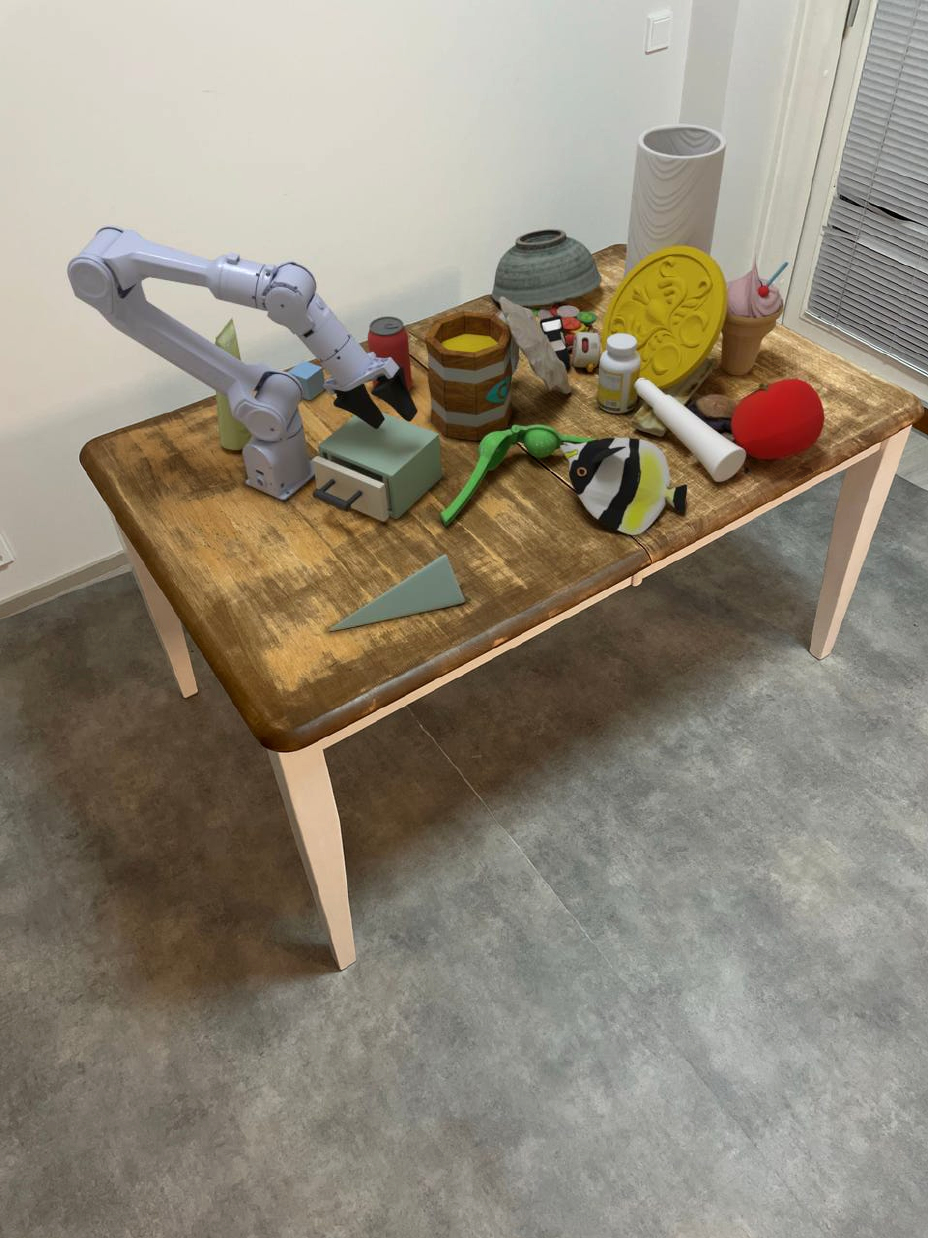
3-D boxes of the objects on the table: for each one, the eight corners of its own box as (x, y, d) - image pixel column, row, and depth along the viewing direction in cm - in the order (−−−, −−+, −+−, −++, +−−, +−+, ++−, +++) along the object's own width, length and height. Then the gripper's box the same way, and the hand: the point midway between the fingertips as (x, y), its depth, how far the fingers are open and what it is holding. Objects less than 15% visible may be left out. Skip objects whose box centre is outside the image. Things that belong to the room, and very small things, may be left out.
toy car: (572, 371, 166) (571, 364, 164) (549, 376, 167) (548, 369, 164) (562, 320, 169) (561, 311, 166) (539, 324, 169) (538, 317, 167)
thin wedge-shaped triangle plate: (354, 666, 122) (471, 593, 125) (327, 623, 123) (445, 552, 126) (354, 674, 130) (465, 605, 133) (329, 634, 131) (440, 566, 134)
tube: (258, 447, 154) (247, 329, 142) (228, 455, 152) (215, 336, 140) (244, 432, 158) (232, 316, 145) (214, 440, 155) (200, 322, 143)
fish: (576, 400, 134) (559, 498, 130) (709, 434, 136) (697, 532, 132) (554, 438, 146) (538, 529, 142) (677, 468, 148) (664, 559, 144)
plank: (685, 361, 167) (687, 347, 165) (717, 369, 165) (719, 356, 163) (628, 432, 154) (630, 419, 152) (662, 443, 152) (664, 429, 150)
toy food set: (505, 340, 174) (504, 323, 171) (544, 308, 181) (544, 291, 178) (568, 362, 168) (569, 345, 166) (607, 328, 175) (608, 311, 173)
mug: (480, 451, 152) (477, 367, 141) (413, 422, 157) (406, 340, 147) (550, 392, 162) (553, 309, 151) (485, 367, 168) (483, 286, 157)
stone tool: (590, 414, 159) (519, 330, 139) (568, 424, 160) (495, 343, 140) (576, 358, 164) (506, 269, 144) (555, 368, 166) (483, 282, 145)
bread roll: (673, 421, 155) (675, 401, 153) (700, 396, 160) (703, 377, 157) (732, 445, 150) (736, 425, 148) (759, 419, 155) (763, 399, 152)
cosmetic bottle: (744, 441, 140) (650, 359, 151) (711, 467, 140) (620, 383, 151) (748, 464, 145) (657, 382, 156) (716, 489, 145) (627, 406, 157)
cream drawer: (366, 538, 138) (361, 504, 133) (299, 509, 143) (292, 475, 138) (426, 482, 146) (423, 448, 141) (361, 456, 151) (356, 422, 146)
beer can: (411, 399, 162) (405, 335, 154) (372, 400, 163) (364, 336, 154) (413, 377, 167) (407, 313, 158) (375, 378, 167) (367, 314, 158)
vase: (657, 292, 183) (678, 115, 160) (716, 321, 175) (747, 139, 152) (603, 319, 177) (617, 139, 154) (662, 350, 169) (685, 166, 146)
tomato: (848, 441, 140) (826, 364, 137) (758, 476, 140) (734, 401, 138) (814, 436, 152) (793, 365, 149) (731, 468, 152) (709, 399, 150)
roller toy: (595, 355, 170) (600, 325, 166) (600, 375, 165) (605, 344, 161) (570, 355, 170) (574, 324, 165) (574, 374, 165) (578, 344, 161)
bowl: (512, 219, 189) (519, 270, 195) (465, 256, 175) (474, 310, 181) (613, 214, 180) (617, 268, 186) (571, 254, 166) (577, 311, 172)
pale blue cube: (310, 400, 163) (306, 379, 160) (291, 393, 165) (287, 372, 162) (326, 388, 165) (322, 367, 162) (307, 381, 167) (303, 360, 164)
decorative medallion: (647, 420, 158) (640, 417, 156) (584, 332, 170) (577, 328, 169) (755, 306, 146) (748, 301, 145) (679, 219, 158) (672, 214, 157)
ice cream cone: (767, 352, 168) (791, 240, 153) (770, 388, 161) (796, 274, 146) (703, 349, 169) (721, 238, 155) (703, 384, 162) (722, 271, 147)
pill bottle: (636, 393, 161) (643, 330, 153) (636, 416, 157) (643, 352, 148) (597, 392, 162) (601, 329, 154) (596, 414, 158) (600, 350, 149)
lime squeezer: (446, 528, 140) (443, 494, 135) (413, 482, 147) (410, 448, 142) (645, 461, 148) (649, 427, 144) (605, 421, 156) (608, 387, 151)
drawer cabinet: (396, 519, 141) (391, 476, 136) (325, 488, 147) (317, 445, 141) (442, 477, 148) (439, 433, 142) (371, 448, 153) (366, 405, 147)
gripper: (381, 316, 128) (442, 392, 135) (320, 338, 139) (380, 408, 146) (354, 351, 125) (417, 428, 132) (294, 372, 136) (355, 441, 143)
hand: (396, 420), depth 139 cm, fingers open, 7 cm apart
